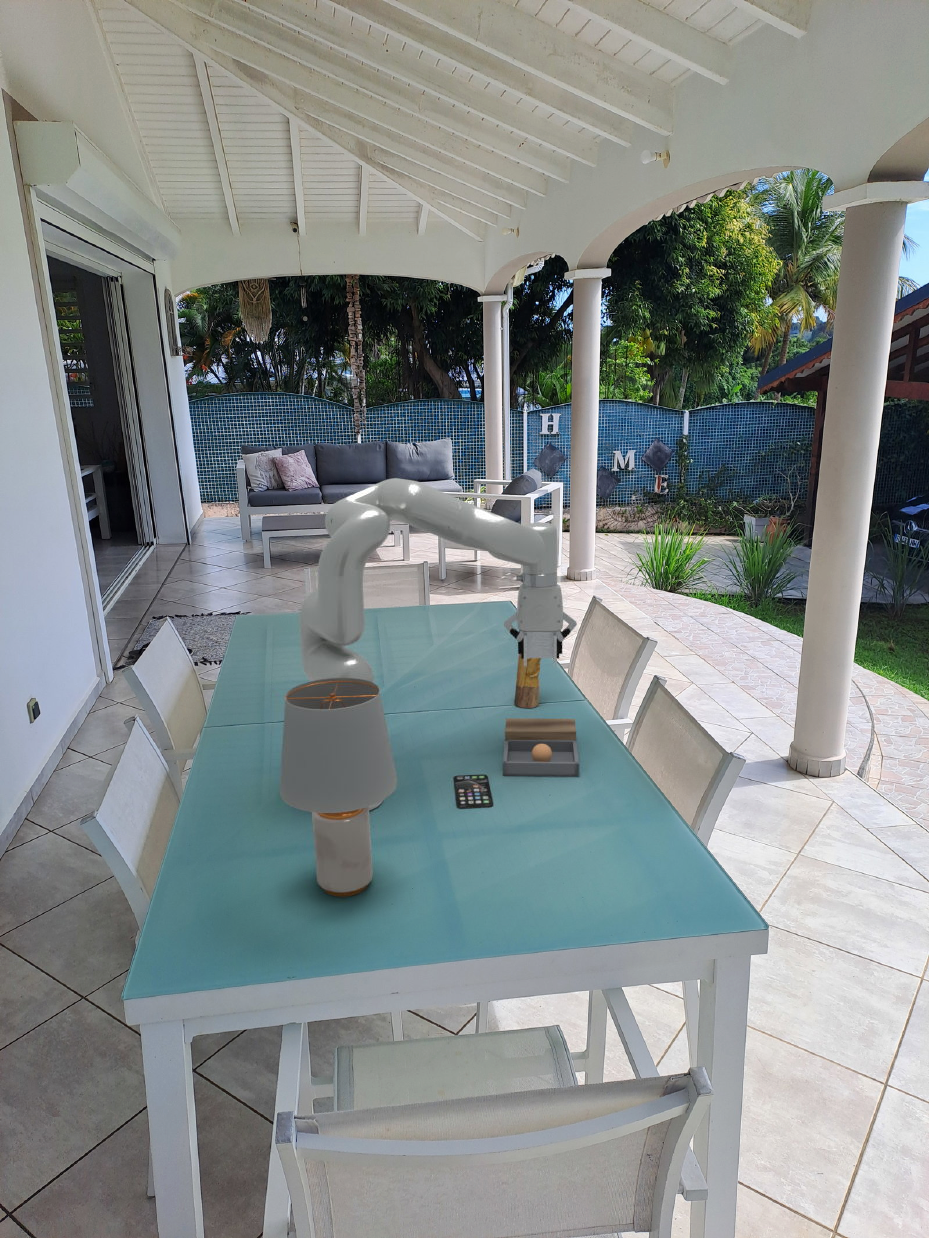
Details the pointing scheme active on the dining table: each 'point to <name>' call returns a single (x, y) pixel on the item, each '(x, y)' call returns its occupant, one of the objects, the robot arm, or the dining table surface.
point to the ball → (541, 753)
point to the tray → (523, 763)
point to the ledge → (540, 729)
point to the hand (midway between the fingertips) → (540, 656)
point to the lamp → (337, 773)
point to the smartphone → (472, 791)
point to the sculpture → (527, 683)
